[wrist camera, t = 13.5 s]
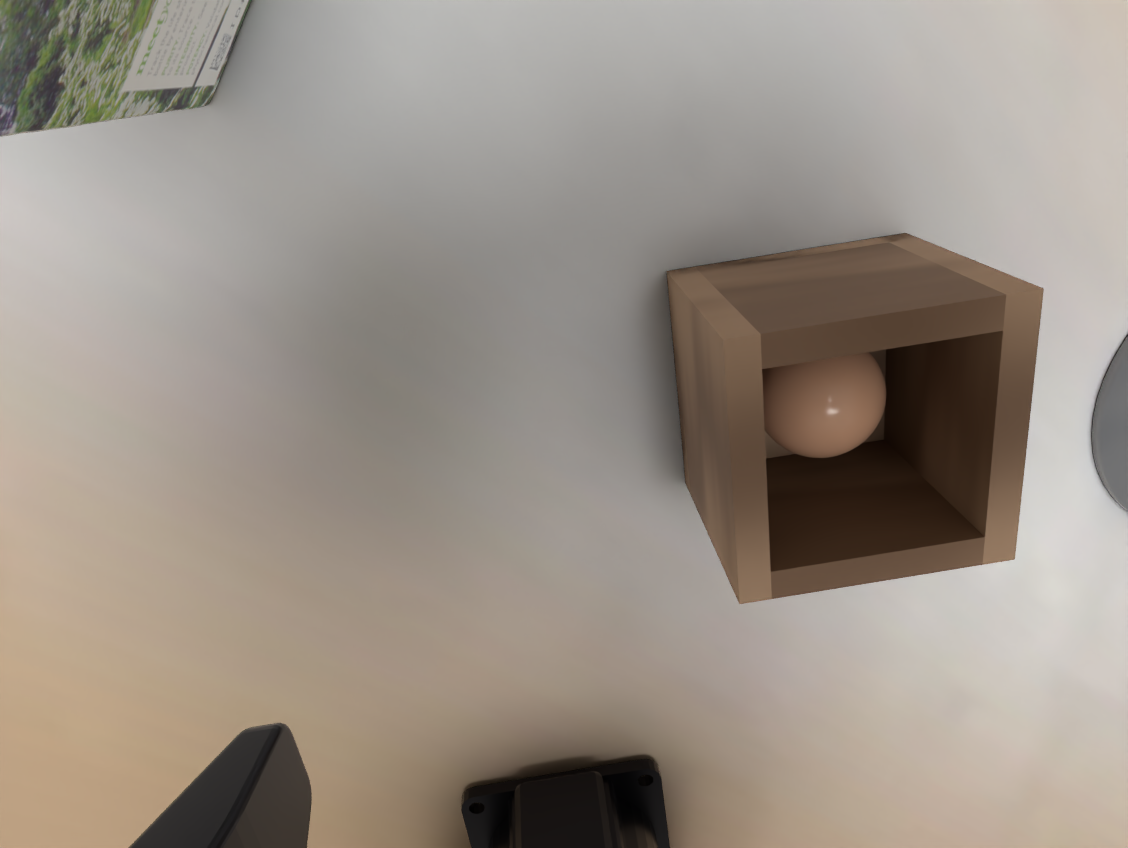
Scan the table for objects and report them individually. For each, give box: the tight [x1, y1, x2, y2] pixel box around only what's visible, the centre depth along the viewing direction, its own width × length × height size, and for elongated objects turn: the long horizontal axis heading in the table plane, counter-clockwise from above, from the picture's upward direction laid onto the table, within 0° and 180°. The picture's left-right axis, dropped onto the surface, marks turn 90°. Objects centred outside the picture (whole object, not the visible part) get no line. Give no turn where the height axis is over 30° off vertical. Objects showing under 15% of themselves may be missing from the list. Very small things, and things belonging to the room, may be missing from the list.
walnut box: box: [666, 233, 1044, 604], centre depth 19 cm, size 6×6×6 cm
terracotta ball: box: [762, 352, 886, 458], centre depth 19 cm, size 3×3×3 cm
